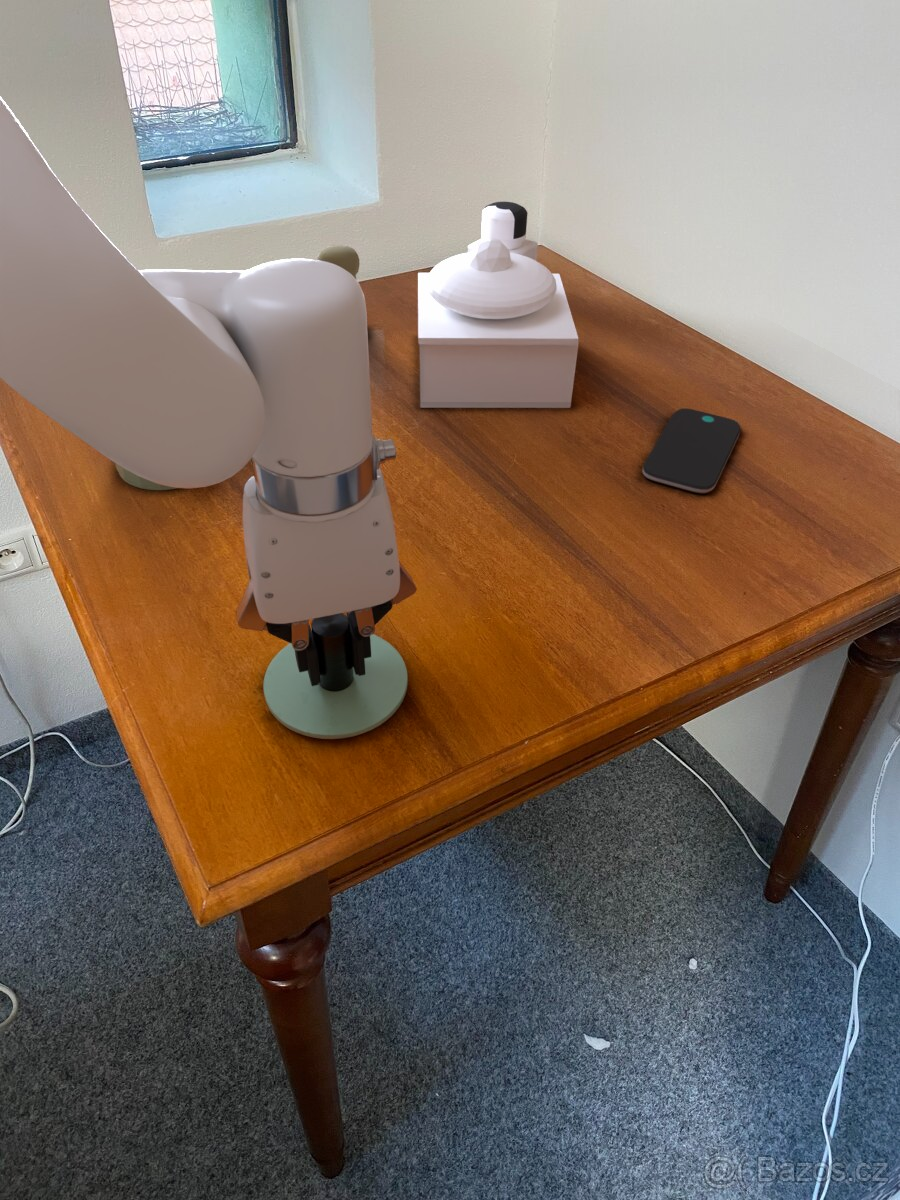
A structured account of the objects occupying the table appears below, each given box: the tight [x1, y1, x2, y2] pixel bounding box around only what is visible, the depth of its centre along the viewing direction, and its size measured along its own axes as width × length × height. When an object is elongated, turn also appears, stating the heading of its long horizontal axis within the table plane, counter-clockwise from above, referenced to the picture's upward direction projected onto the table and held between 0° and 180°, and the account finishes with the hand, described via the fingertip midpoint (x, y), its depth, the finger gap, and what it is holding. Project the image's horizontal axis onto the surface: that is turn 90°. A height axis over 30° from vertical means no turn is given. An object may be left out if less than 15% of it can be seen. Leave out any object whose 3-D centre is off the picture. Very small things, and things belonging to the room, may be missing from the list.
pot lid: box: [262, 613, 409, 740], centre depth 67 cm, size 11×11×7 cm
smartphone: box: [642, 408, 742, 495], centre depth 94 cm, size 8×1×15 cm
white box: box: [417, 239, 580, 409], centre depth 102 cm, size 18×18×16 cm
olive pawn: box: [316, 244, 360, 281], centre depth 110 cm, size 6×6×11 cm
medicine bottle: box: [466, 201, 539, 261], centre depth 120 cm, size 7×7×12 cm
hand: (334, 666), depth 67 cm, fingers closed on pot lid, 2 cm apart
